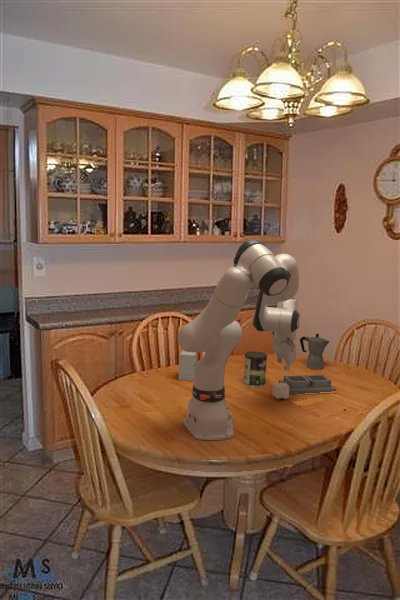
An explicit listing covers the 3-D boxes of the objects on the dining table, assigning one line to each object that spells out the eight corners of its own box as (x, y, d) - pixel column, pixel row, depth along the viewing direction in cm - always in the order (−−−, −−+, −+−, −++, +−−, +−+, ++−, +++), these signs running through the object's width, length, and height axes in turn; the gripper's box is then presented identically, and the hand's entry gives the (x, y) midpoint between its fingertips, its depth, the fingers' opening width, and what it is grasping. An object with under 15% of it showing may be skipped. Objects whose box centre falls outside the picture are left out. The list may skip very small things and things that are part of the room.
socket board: (335, 393, 222) (336, 382, 221) (288, 395, 218) (289, 384, 217) (322, 382, 235) (323, 372, 234) (278, 384, 231) (279, 373, 230)
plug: (288, 400, 212) (289, 386, 211) (275, 400, 211) (276, 386, 210) (284, 395, 217) (285, 382, 216) (272, 396, 216) (273, 383, 215)
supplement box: (193, 381, 231) (194, 355, 229) (177, 380, 233) (178, 354, 230) (196, 376, 238) (197, 351, 236) (181, 375, 240) (182, 349, 238)
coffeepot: (329, 366, 261) (331, 333, 257) (326, 371, 252) (328, 337, 249) (299, 362, 267) (302, 329, 263) (296, 367, 258) (298, 333, 255)
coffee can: (269, 383, 232) (271, 354, 230) (258, 389, 224) (259, 359, 222) (250, 378, 238) (252, 350, 236) (239, 383, 230) (240, 354, 228)
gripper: (301, 341, 199) (298, 374, 202) (284, 329, 219) (282, 359, 221) (286, 341, 198) (284, 374, 200) (270, 329, 218) (269, 359, 220)
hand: (283, 366), depth 211 cm, fingers open, 8 cm apart
